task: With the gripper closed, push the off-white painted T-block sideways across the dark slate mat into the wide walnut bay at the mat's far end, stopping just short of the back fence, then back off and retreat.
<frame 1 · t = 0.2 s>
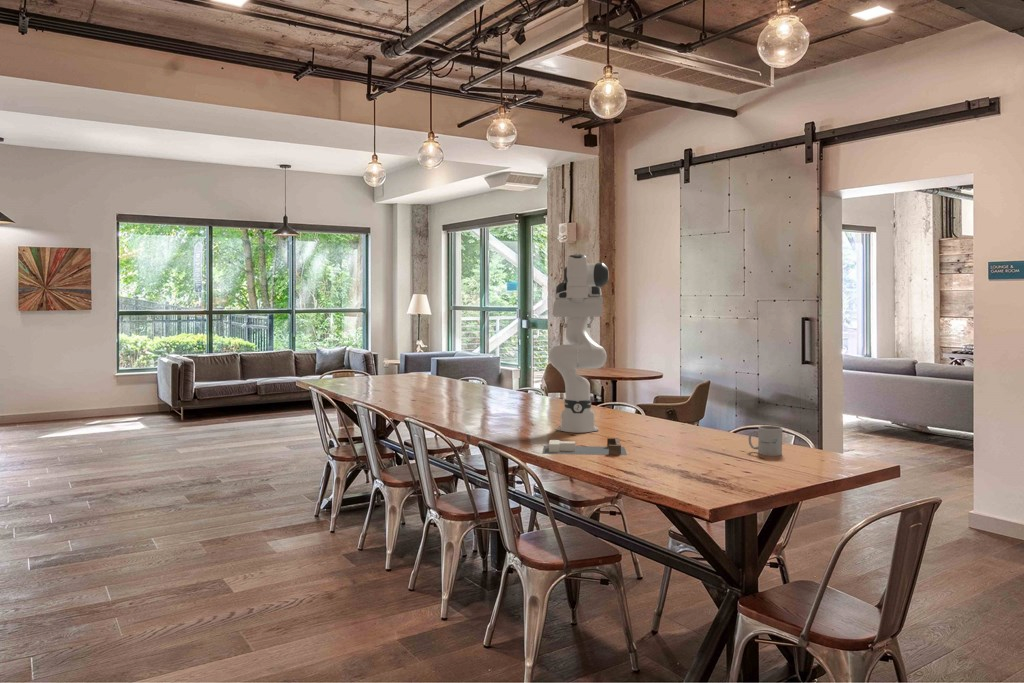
hand: (577, 327, 306), 48 cm above the table, fingers open, 8 cm apart
mat: (584, 451, 292), on the table
mug: (765, 453, 288), on the table
tee: (554, 449, 293), resting on mat
dock: (617, 450, 290), resting on mat
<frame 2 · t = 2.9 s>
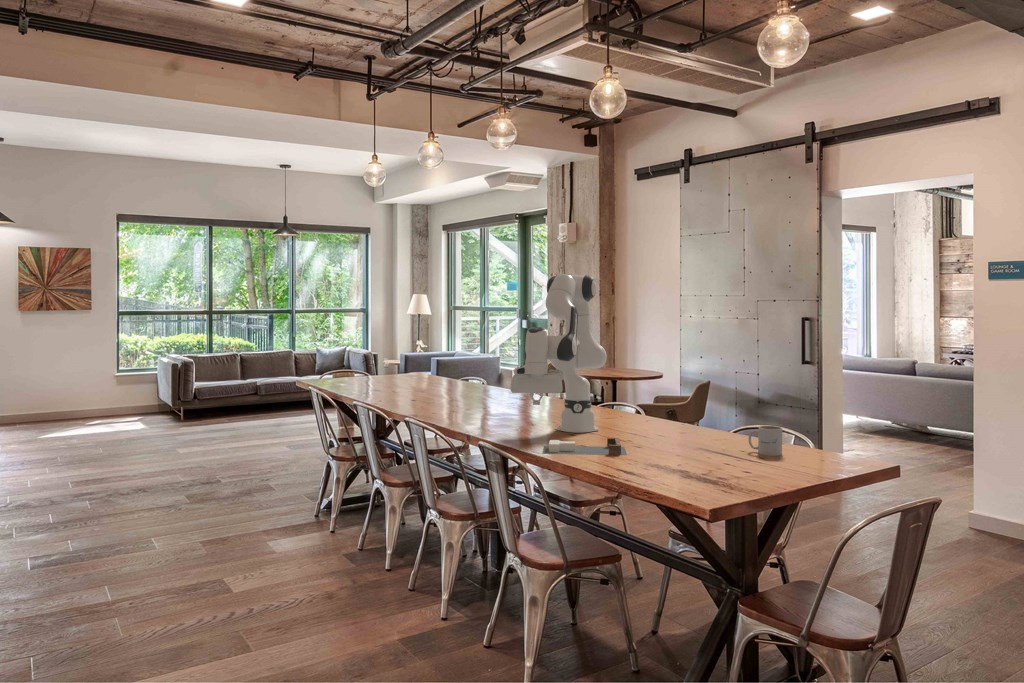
hand: (536, 404, 292), 18 cm above the table, fingers closed
nothing on the table moved.
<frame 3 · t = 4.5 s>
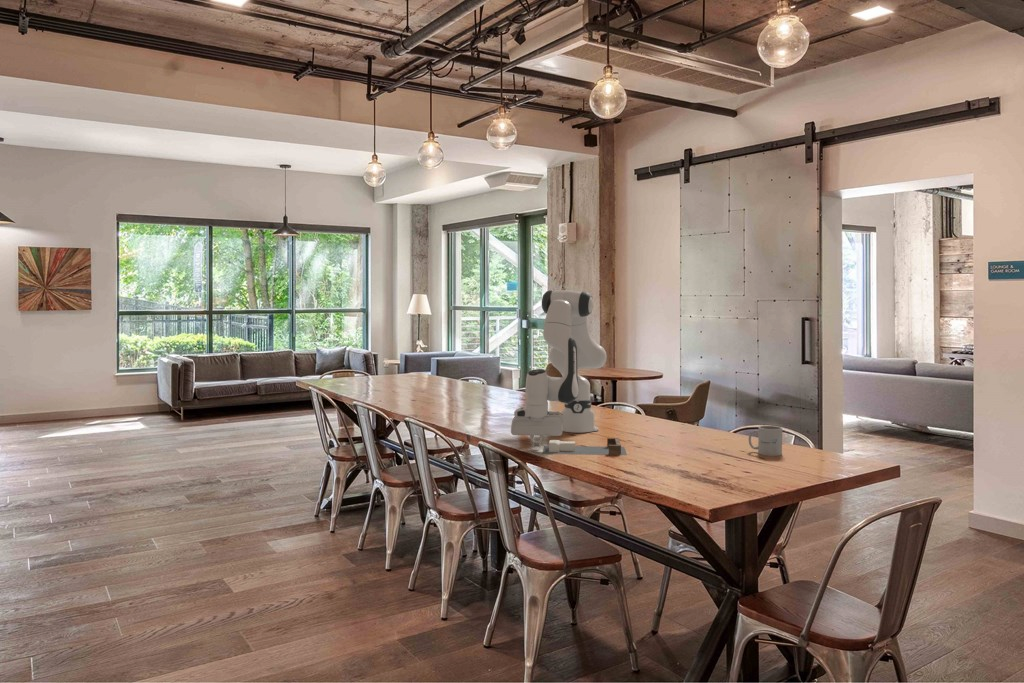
hand: (536, 446, 293), 2 cm above the table, fingers closed
nothing on the table moved.
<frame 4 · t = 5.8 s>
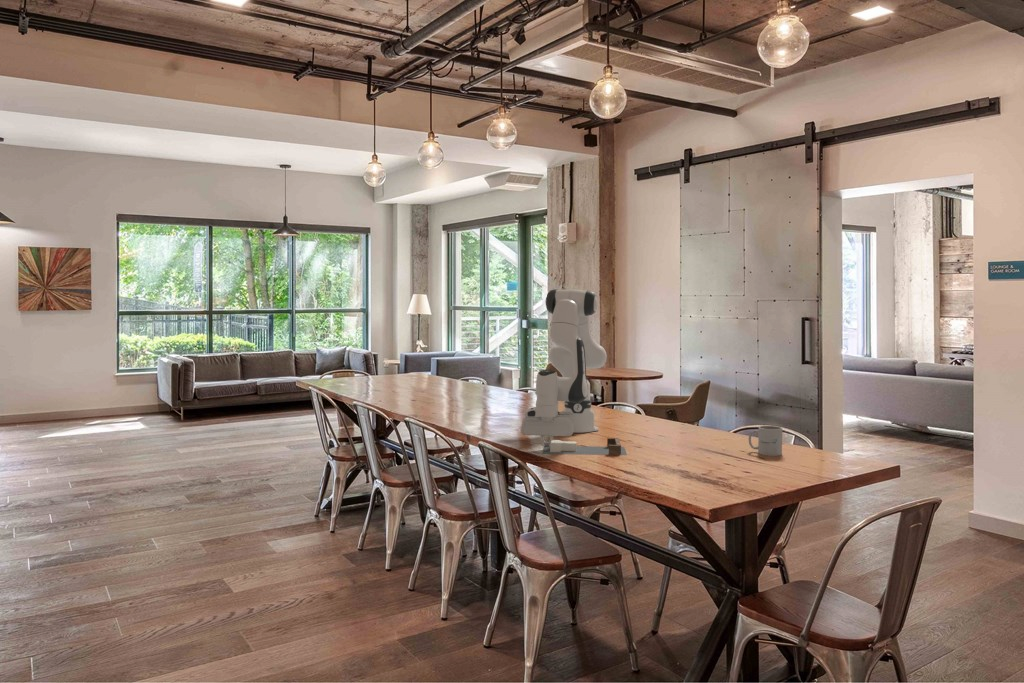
hand: (546, 446, 293), 2 cm above the table, fingers closed
tee: (555, 449, 292), point 1 cm above the table, touching gripper, mat
everything else where it was.
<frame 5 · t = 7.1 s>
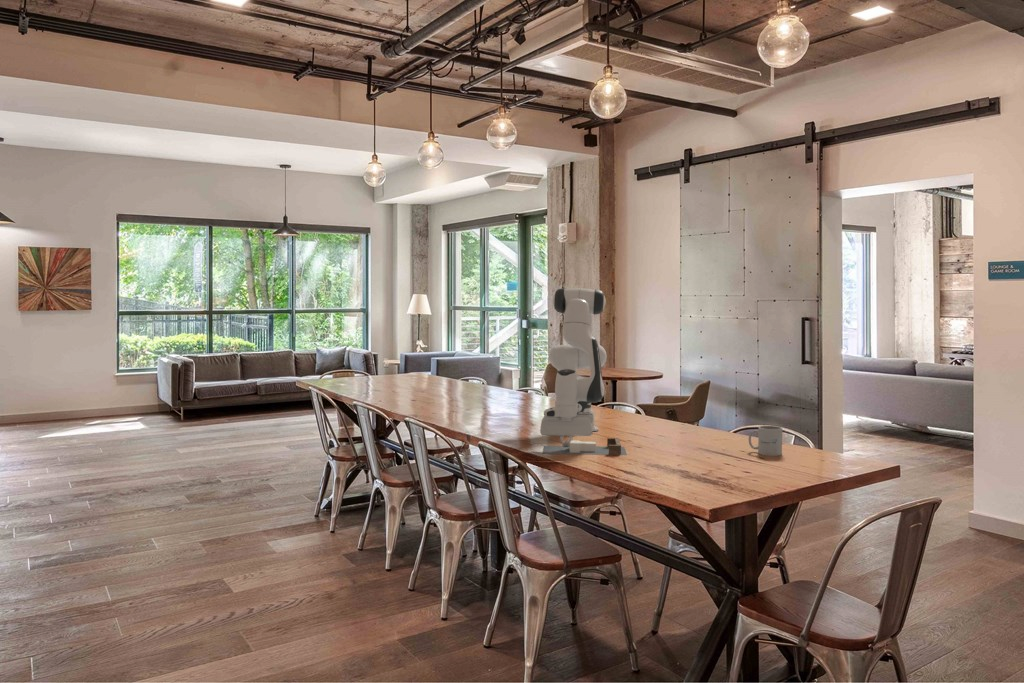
hand: (566, 446, 292), 2 cm above the table, fingers closed
tee: (575, 450, 292), point 1 cm above the table, touching gripper, mat
everything else where it was.
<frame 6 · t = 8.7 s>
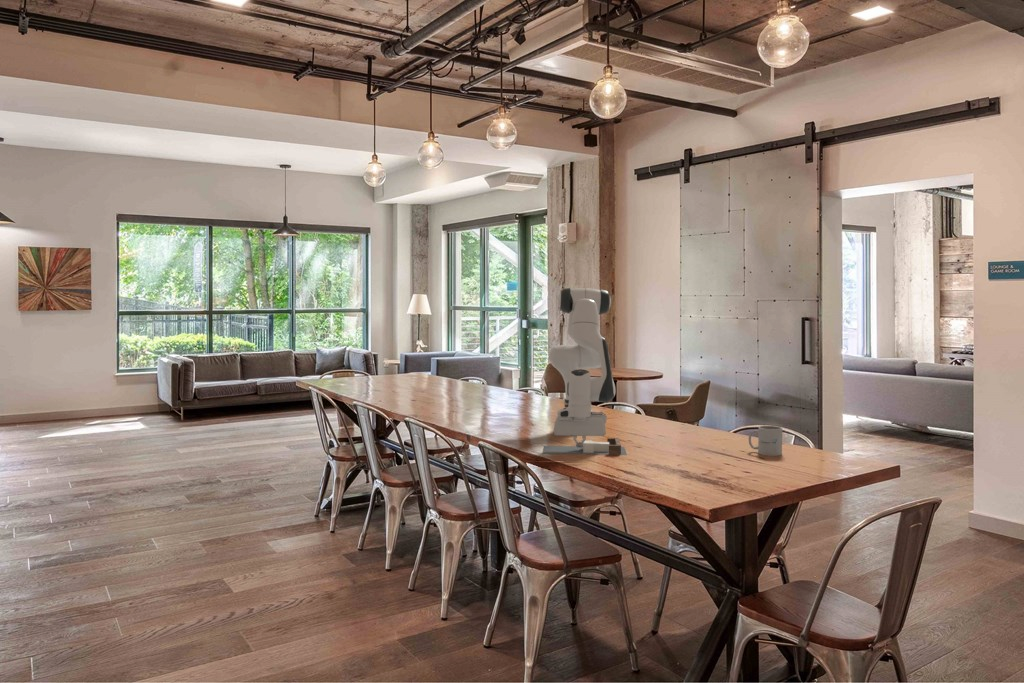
hand: (579, 447, 291), 2 cm above the table, fingers closed
tee: (588, 450, 291), resting on mat, touching gripper
everything else where it was.
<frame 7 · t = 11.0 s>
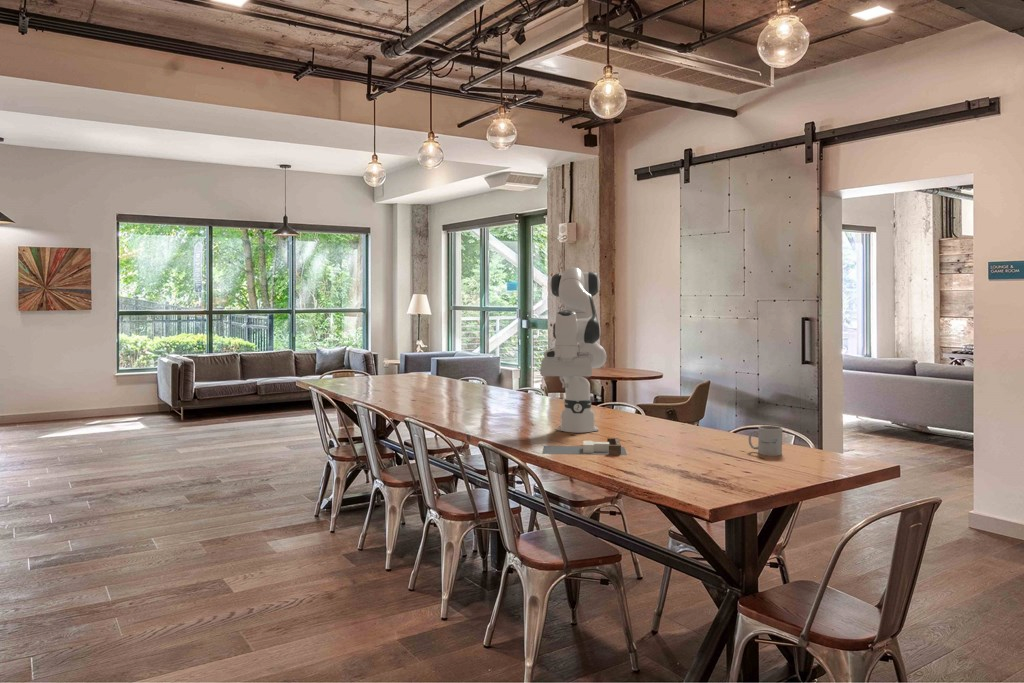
hand: (566, 387, 292), 25 cm above the table, fingers closed
tee: (588, 450, 291), resting on mat
everything else where it was.
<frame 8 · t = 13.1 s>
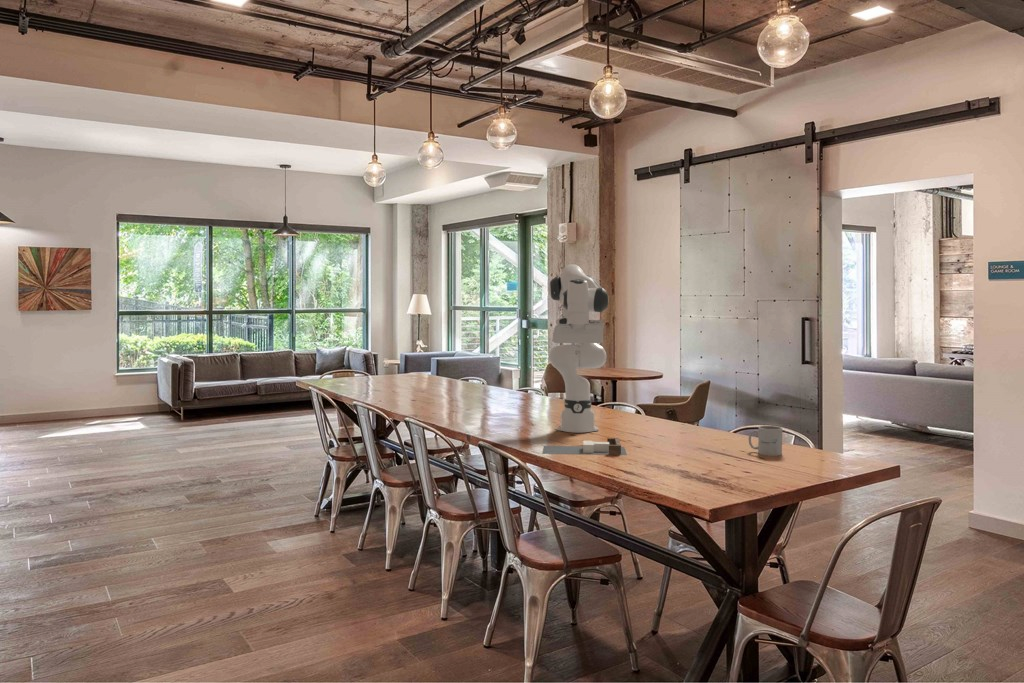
hand: (577, 354, 300), 37 cm above the table, fingers closed
nothing on the table moved.
at the end: tee inside the target area (0.6 cm from its centre), point 0.5 cm above the table; tee tilted 0°; tee moved 13.2 cm from its start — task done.
